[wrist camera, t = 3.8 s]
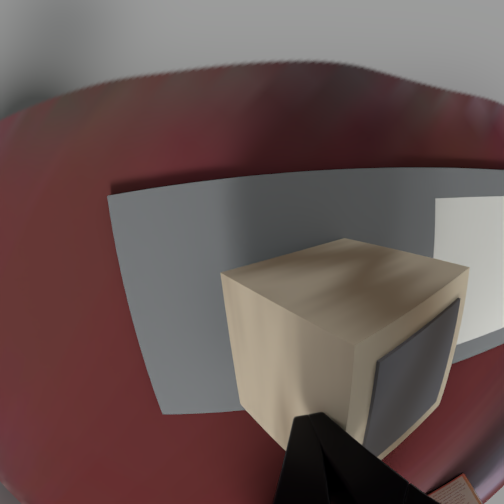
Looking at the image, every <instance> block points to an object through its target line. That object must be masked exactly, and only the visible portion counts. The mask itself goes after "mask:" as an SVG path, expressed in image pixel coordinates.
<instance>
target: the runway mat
mask: <svg viewBox="0 0 504 504" xmlns="http://www.w3.org/2000/svg"><path fill="white" fill-rule="evenodd" d="M107 198H108V205H109V211H110V217H111V223H112V229H113V235H114V240H115V245H116V251H117V256H118V261H119V265H120V270H121V275H122V279H123V283H124V288H125V292H126V296H127V300H128V304H129V308H130V312H131V316H132V320H133V323H134V327H135V331H136V334H137V338H138V341H139V345H140V348H141V351H142V355H143V358H144V361H145V364H146V368H147V371H148V374H149V377H150V380H151V383H152V386H153V389H154V392H155V395H156V397H157V400H158V403H159V406H160V408H161V411H162V414H196V413H214V412H228V411H239V410H245V409H244V408H243V406H242V405H241V404H240V399H239V393H238V387H237V381H236V375H235V369H234V363H233V356H232V350H231V343H230V337H229V330H228V323H227V317H226V310H225V303H224V296H223V288H222V281H221V274H220V273H221V272H224V271H228V270H232V269H235V268H239V267H243V266H246V265H250V264H253V263H257V262H261V261H264V260H268V259H272V258H275V257H279V256H282V255H286V254H290V253H293V252H297V251H300V250H304V249H308V248H311V247H315V246H318V245H322V244H325V243H329V242H332V241H336V240H340V239H343V238H347V239H351V240H356V241H360V242H365V243H369V244H374V245H378V246H383V247H387V248H392V249H396V250H400V251H405V252H409V253H413V254H417V255H422V256H426V257H430V258H434V259H438V260H442V261H447V262H451V263H455V264H459V265H463V266H467V267H470V269H469V278H468V285H467V292H466V298H465V304H464V310H463V315H462V321H461V326H460V330H459V335H458V340H457V344H456V348H455V352H454V356H453V360H452V364H453V363H456V362H459V361H461V360H464V359H467V358H469V357H472V356H474V355H477V354H479V353H482V352H484V351H487V350H489V349H492V348H494V347H496V346H499V345H501V344H503V343H504V170H495V169H474V168H436V167H399V168H358V169H335V170H317V171H302V172H288V173H276V174H264V175H253V176H243V177H234V178H225V179H216V180H208V181H200V182H192V183H184V184H177V185H170V186H163V187H156V188H150V189H144V190H137V191H131V192H125V193H120V194H114V195H109V196H107Z"/></svg>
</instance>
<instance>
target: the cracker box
mask: <svg viewBox="0 0 504 504" xmlns="http://www.w3.org/2000/svg"><path fill="white" fill-rule="evenodd" d="M428 496H429V497H431V498H432V499H434V500H436V501H437V502H439V503H441V504H483V503H482V502H481V500H480V498H479V497H478V495H477V493H476V492H475V490H474V488H473V487H472V485H471V484H470V482H469V480H468V479H467V477H466V476H465V474H464V473H463V474H461V475H459V476H458V477H456V478H455V479H453V480H452V481H450V482H448V483H447V484H445V485H443V486H442V487H440V488H439V489H437V490H435V491H433V492H431V493H430V494H428Z"/></svg>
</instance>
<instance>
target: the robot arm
mask: <svg viewBox="0 0 504 504" xmlns="http://www.w3.org/2000/svg"><path fill="white" fill-rule="evenodd" d="M272 504H441V503H439V502H437V501H436V500H434V499H432V498H431V497H429V496H428V495H426V494H425V493H424V492H422V491H421V490H419V489H418V488H417V487H415V486H414V485H413V484H411V483H410V484H409V482H408V481H407V480H406V479H404V478H403V477H402V476H401V475H399V474H398V473H397V472H395V471H394V470H393V469H391V468H390V467H389V466H388V465H386V464H385V463H384V462H383V461H381V460H380V459H379V458H377V457H376V456H375V455H374V454H373V453H371V452H370V451H369V450H368V449H366V448H365V447H364V446H363V445H361V444H360V443H359V442H358V441H357V440H355V439H354V438H353V437H352V436H351V435H349V434H348V433H347V432H346V431H345V430H343V429H342V428H341V427H340V426H339V425H338V424H336V423H335V422H334V421H333V420H332V419H331V418H329V417H328V416H327V415H326V414H325V413H323V412H317V413H312V414H309V415H308V414H306V415H301V416H295V417H294V418H293V422H292V427H291V431H290V436H289V440H288V445H287V449H286V453H285V457H284V461H283V465H282V469H281V473H280V477H279V481H278V485H277V489H276V492H275V496H274V500H273V503H272Z"/></svg>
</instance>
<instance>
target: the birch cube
mask: <svg viewBox="0 0 504 504" xmlns="http://www.w3.org/2000/svg"><path fill="white" fill-rule="evenodd" d="M469 269H470V267H467V266H463V265H459V264H455V263H451V262H447V261H442V260H438V259H434V258H430V257H426V256H422V255H417V254H413V253H409V252H405V251H400V250H396V249H392V248H387V247H383V246H378V245H374V244H369V243H365V242H360V241H356V240H351V239H347V238H343V239H340V240H336V241H332V242H329V243H325V244H322V245H318V246H315V247H311V248H308V249H304V250H300V251H297V252H293V253H290V254H286V255H282V256H279V257H275V258H272V259H268V260H264V261H261V262H257V263H253V264H250V265H246V266H243V267H239V268H235V269H232V270H228V271H224V272H221V273H220V274H221V281H222V288H223V296H224V303H225V310H226V317H227V323H228V330H229V337H230V343H231V350H232V356H233V363H234V369H235V375H236V381H237V387H238V393H239V399H240V404H241V405H242V406H243V408H244V409H245V410H246V411H247V412H248V413H249V414H250V415H251V416H252V417H253V418H254V419H255V420H256V421H257V422H258V424H259V425H260V426H261V427H262V428H263V429H264V430H265V431H266V432H267V433H268V434H269V435H270V436H271V437H272V438H273V439H274V440H275V441H276V442H277V443H278V444H279V445H280V446H281V447H282V448H283V449H284V450H285V451H286V449H287V445H288V440H289V436H290V431H291V427H292V422H293V418H294V417H295V416H301V415H306V414H308V415H309V414H312V413H317V412H323V413H325V414H326V415H327V416H328V417H329V418H331V419H332V420H333V421H334V422H335V423H336V424H338V425H339V426H340V427H341V428H342V429H343V430H345V431H346V432H347V433H348V434H349V435H351V436H352V437H353V438H354V439H355V440H357V441H358V442H359V443H360V444H361V445H363V446H364V447H365V448H366V449H368V450H369V451H370V452H371V453H373V454H374V455H375V456H376V457H377V458H379V459H380V460H382V459H383V458H384V457H385V456H387V455H388V454H389V453H390V452H391V451H392V450H393V449H395V448H396V447H397V446H398V445H399V444H400V443H401V442H402V441H403V440H404V439H406V438H407V437H408V436H409V435H410V434H411V433H412V432H413V431H414V430H415V429H416V428H417V427H418V426H419V425H420V424H421V423H422V422H423V421H424V420H425V419H426V418H427V417H428V416H429V415H430V414H431V413H432V412H433V411H434V410H435V408H436V407H437V406H438V405H439V404H440V401H441V398H442V395H443V392H444V388H445V385H446V382H447V378H448V375H449V371H450V368H451V364H452V360H453V356H454V352H455V348H456V344H457V340H458V335H459V330H460V326H461V321H462V315H463V310H464V304H465V298H466V292H467V285H468V278H469Z"/></svg>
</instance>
